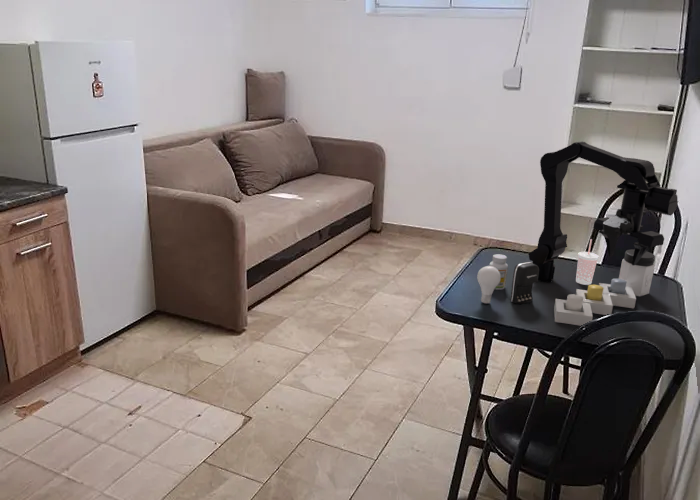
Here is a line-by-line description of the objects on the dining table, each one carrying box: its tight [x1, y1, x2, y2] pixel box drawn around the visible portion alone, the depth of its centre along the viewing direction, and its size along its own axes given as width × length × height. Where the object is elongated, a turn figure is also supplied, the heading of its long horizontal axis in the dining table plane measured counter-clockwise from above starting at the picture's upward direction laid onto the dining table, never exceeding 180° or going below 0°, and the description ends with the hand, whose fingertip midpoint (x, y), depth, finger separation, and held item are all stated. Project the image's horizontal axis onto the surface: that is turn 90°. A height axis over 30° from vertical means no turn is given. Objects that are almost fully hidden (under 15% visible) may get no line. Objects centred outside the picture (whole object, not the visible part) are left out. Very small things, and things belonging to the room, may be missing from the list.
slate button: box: [609, 278, 627, 294], centre depth 179 cm, size 4×4×4 cm
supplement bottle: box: [488, 253, 509, 291], centre depth 184 cm, size 5×5×10 cm
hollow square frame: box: [574, 288, 614, 316], centre depth 174 cm, size 9×9×3 cm
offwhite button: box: [565, 293, 583, 312], centre depth 166 cm, size 4×4×4 cm
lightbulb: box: [476, 265, 501, 305], centre depth 172 cm, size 6×6×11 cm
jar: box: [618, 248, 656, 297], centre depth 186 cm, size 9×8×12 cm
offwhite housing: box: [553, 298, 593, 327], centre depth 167 cm, size 9×9×3 cm
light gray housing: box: [598, 282, 637, 309], centre depth 180 cm, size 9×9×3 cm
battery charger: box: [509, 261, 539, 305], centre depth 174 cm, size 7×4×11 cm, turn 120°
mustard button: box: [586, 284, 604, 301], centre depth 174 cm, size 4×4×4 cm
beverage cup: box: [575, 238, 600, 286], centre depth 191 cm, size 6×6×14 cm
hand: (621, 260), depth 174 cm, fingers open, 7 cm apart
